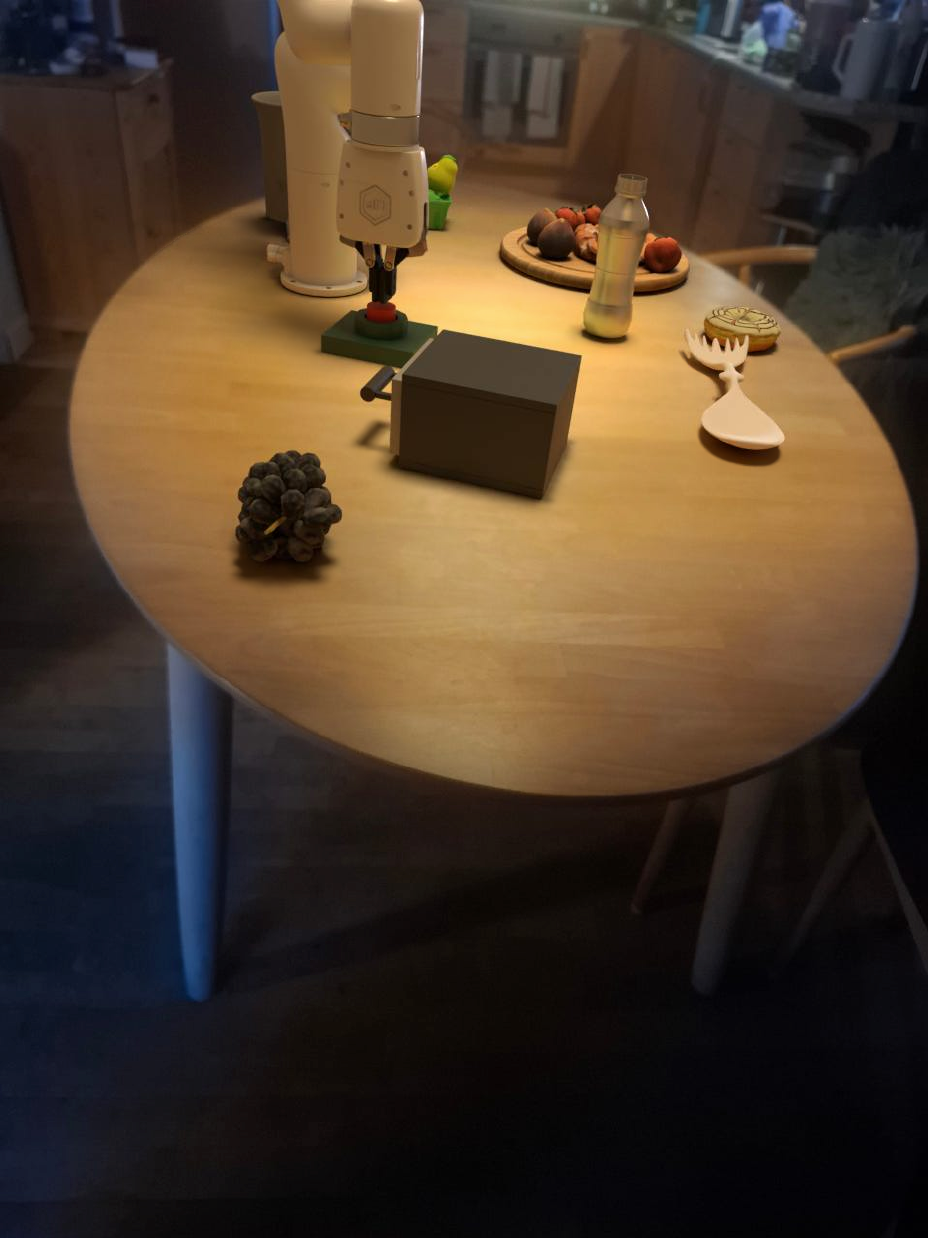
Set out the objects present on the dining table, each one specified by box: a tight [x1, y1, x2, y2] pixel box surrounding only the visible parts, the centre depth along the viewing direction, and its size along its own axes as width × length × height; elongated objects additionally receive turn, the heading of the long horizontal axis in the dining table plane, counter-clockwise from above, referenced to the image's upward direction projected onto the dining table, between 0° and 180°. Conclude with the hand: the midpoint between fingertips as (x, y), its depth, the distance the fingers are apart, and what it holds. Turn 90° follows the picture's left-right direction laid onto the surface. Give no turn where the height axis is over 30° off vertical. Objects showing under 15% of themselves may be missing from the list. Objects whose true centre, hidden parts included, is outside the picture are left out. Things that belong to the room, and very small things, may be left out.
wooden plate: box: [499, 203, 691, 293], centre depth 143 cm, size 32×32×8 cm
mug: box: [250, 90, 290, 243], centre depth 141 cm, size 19×15×25 cm
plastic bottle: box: [582, 173, 651, 339], centre depth 113 cm, size 6×7×20 cm
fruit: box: [234, 449, 343, 563], centre depth 73 cm, size 9×8×15 cm
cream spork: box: [683, 327, 786, 450], centre depth 104 cm, size 9×32×4 cm, turn 174°
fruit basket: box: [427, 154, 459, 230], centre depth 154 cm, size 11×9×11 cm
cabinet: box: [397, 329, 583, 500], centre depth 86 cm, size 15×13×10 cm
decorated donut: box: [703, 306, 782, 353], centre depth 121 cm, size 10×11×4 cm
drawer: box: [359, 338, 434, 457], centre depth 87 cm, size 18×12×8 cm, turn 74°
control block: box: [320, 307, 439, 369], centre depth 108 cm, size 12×10×4 cm
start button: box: [366, 301, 397, 322], centre depth 107 cm, size 4×4×2 cm
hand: (382, 299), depth 106 cm, fingers closed
